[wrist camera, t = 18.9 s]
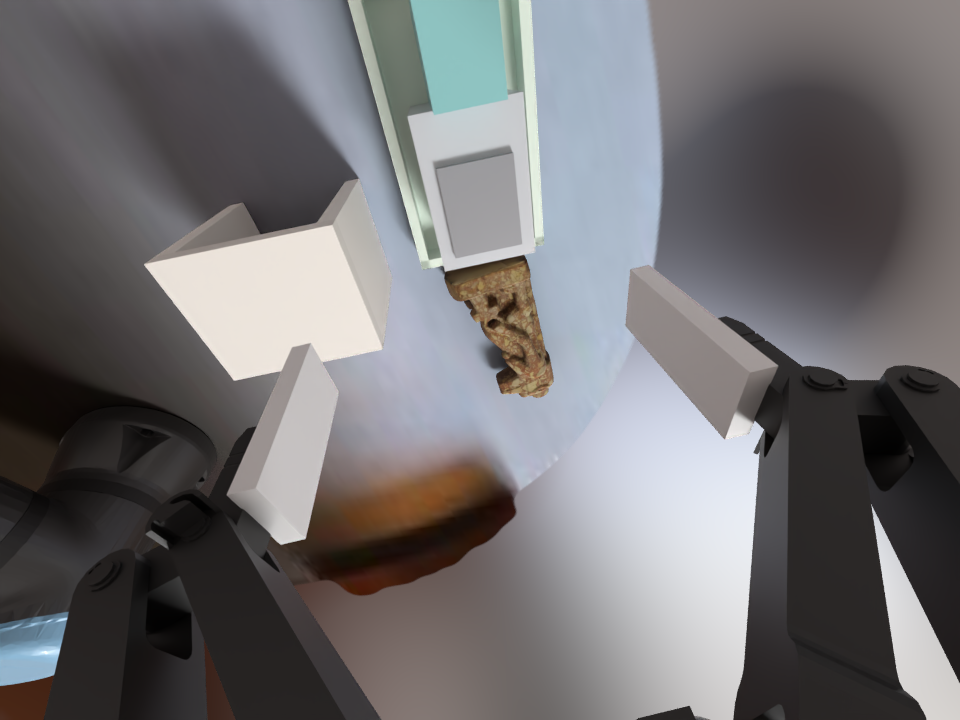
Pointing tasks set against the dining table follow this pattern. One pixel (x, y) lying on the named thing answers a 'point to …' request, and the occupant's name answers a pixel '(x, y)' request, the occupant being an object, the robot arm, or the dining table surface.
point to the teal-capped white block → (470, 135)
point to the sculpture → (507, 320)
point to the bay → (281, 285)
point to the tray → (401, 85)
